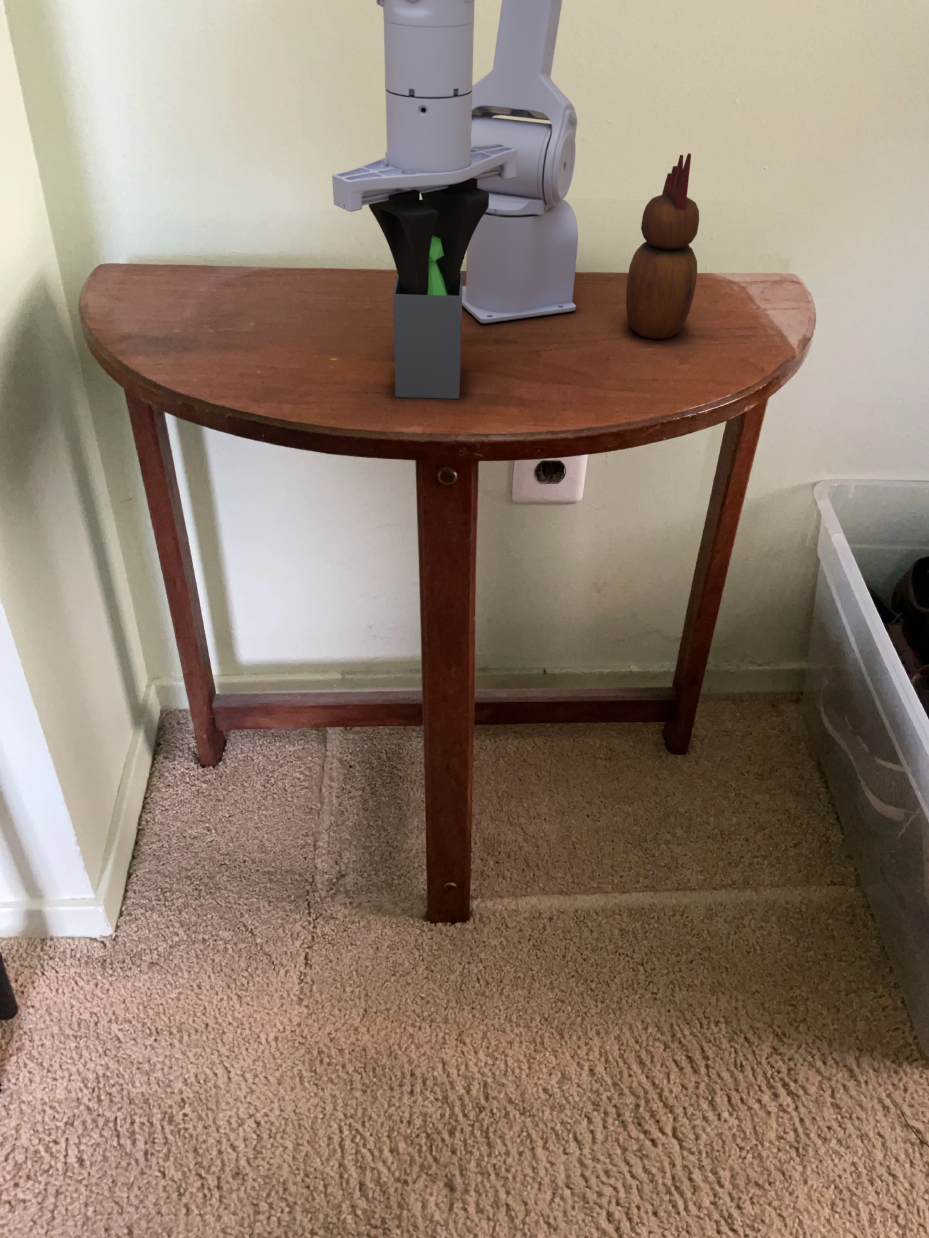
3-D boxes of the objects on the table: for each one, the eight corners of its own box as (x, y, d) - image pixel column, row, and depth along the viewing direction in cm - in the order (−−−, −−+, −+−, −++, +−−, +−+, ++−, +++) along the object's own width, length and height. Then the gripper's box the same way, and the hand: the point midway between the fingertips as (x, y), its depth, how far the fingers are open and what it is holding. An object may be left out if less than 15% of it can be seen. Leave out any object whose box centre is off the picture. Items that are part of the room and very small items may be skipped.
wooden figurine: (686, 350, 84) (718, 161, 75) (618, 342, 85) (642, 155, 76) (688, 320, 89) (718, 140, 80) (624, 313, 90) (647, 135, 81)
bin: (460, 371, 80) (462, 272, 75) (459, 399, 76) (461, 296, 71) (399, 370, 80) (397, 270, 75) (395, 397, 76) (393, 294, 71)
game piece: (465, 322, 73) (464, 241, 69) (408, 328, 73) (404, 246, 69) (452, 300, 76) (451, 221, 73) (397, 306, 76) (393, 226, 72)
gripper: (475, 68, 71) (470, 259, 79) (301, 91, 64) (316, 298, 72) (541, 85, 67) (529, 285, 75) (364, 112, 59) (372, 329, 68)
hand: (429, 293), depth 73 cm, fingers closed on game piece, 2 cm apart
